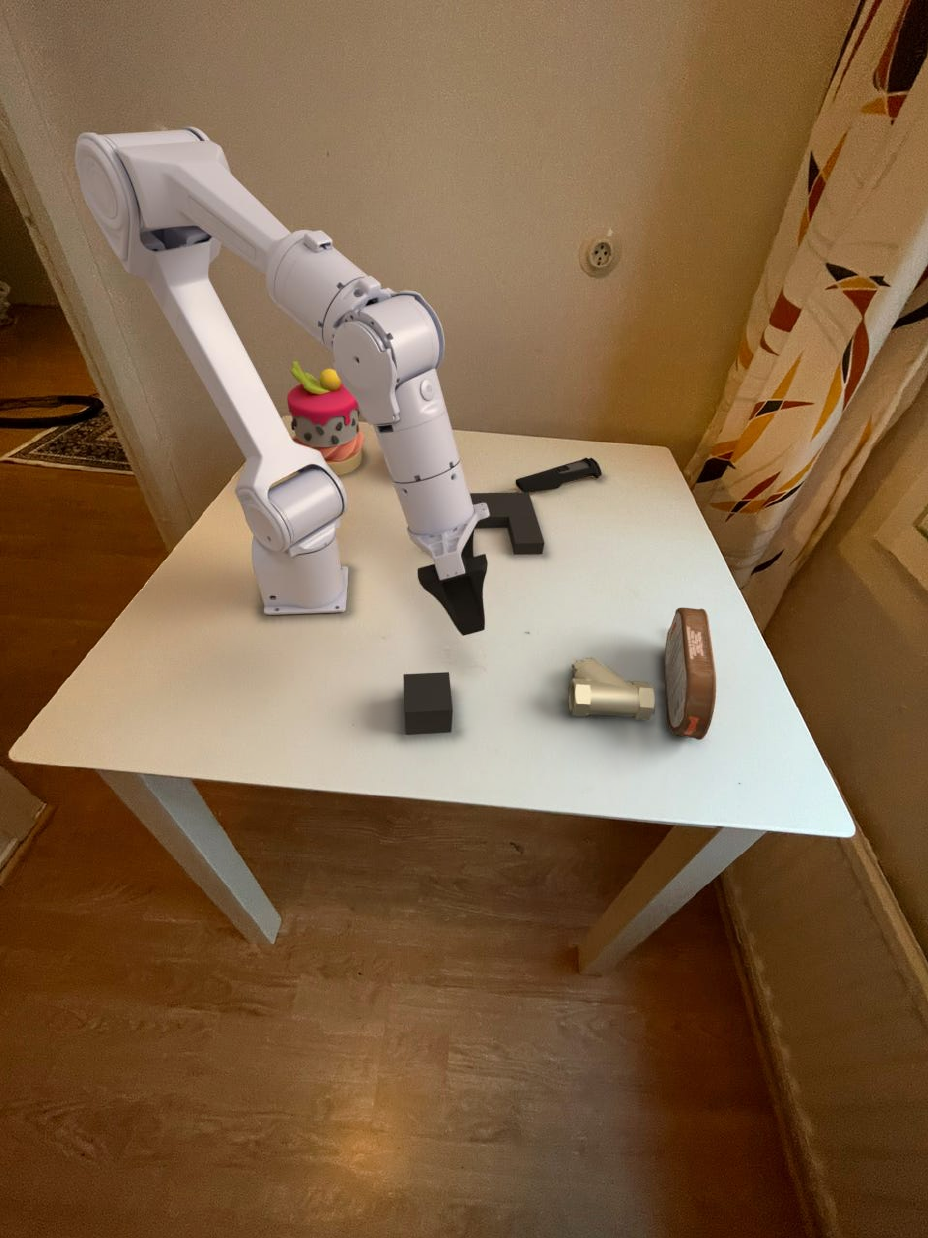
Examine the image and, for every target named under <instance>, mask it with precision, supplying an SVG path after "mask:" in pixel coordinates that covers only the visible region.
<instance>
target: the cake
mask: <svg viewBox="0 0 928 1238" xmlns="http://www.w3.org/2000/svg"><path fill="white" fill-rule="evenodd" d="M291 363H292V367H291V369H290V370H289V372H290V374H291V375H292V376H293V378H295V379H296V381H297V382H298V383H299V384H298V385H296V386H294V387H293V388H291V389H290V391H289V392H288V393H287V395H286V400H287V408H288V412H289V413H290V414H291V419H292V420H291V422H290V427H291V431H294V435H295V436H294V437H293V438H292V440H293V442H295V443H298V444H301V445H304V446H307V447H310V448H313V449H316V450H318V451H320V452H321V454H322V456H323V458H324V460H325V462H326V463H327V465H328V466H329V467H330V469H331V470H332V471H333V472H334V473H335V474H336V475H337V476H338V477H339V476H342V475H346V474H349V473H352V472H353V471H355V470H356V469H358V468H359V466H361V464H362V460H363V456H362V447H363V444H364V440H365V437H364V434H363V431H362V430H361V428H360V424H359V417H360V414H361V411H360V408H359V405H358V403H357V401H356V399H355V398H354V397H353V395H352V394H351V393H350V392H349V391H348V390H347V389H346V388H345V386H344V385H343V384H342V382H341V381H340V379H339V377H338V375H337V373H336V371H335V369H334V368H326V369H324V370H322V371H321V373H319V378H318V379H316V378H315V377H314V376H313V375H312V374H310V373H308V372H304V371H303V369H302V368H301V366H300V364H299V362H298V361H297V360H293V361H292V362H291Z"/></svg>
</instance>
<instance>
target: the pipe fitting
mask: <svg viewBox="0 0 928 1238" xmlns="http://www.w3.org/2000/svg"><path fill="white" fill-rule="evenodd" d="M571 668H572V674H573V675H574V676H573V678H572V679H571V680H570V683H569V686H568V695H567V700H568V701H567V702H568V703H567V704H568V711H569V713H570V714H571V715H572V717H585V718H586V717H587V716H588V715H599V716H600V715H603V716H622V717H632V718H633V719H635V720H641V721H642V720H644V721H649V720H650V719H651V718H652V716H653V714H654V712H655V705H656V704H655V703H656V699H655V691H654V687H653V686H652V684H650V683H648V682H647V681H646V682H645V681H633V682H632V683H631V682H629V681H627V680H626V679H625V678H623V677H621V676H620V675H618V674H617V673H615V672H614V671H613V670H611V669H610V668H608V667H607V666H605V665H603V664H602V663H601V662H599V661H598V660H596V659H595V658H593V657H588V658H586V659H580V660H575V661H573V663H572V664H571Z"/></svg>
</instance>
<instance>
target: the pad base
mask: <svg viewBox="0 0 928 1238" xmlns="http://www.w3.org/2000/svg"><path fill="white" fill-rule="evenodd" d="M469 493H470V497H471V500H472V504H473V505H475V504H479V503H486V504H487V506H488V510H489V513H490V515H489V517H487V518H485V519H482V520H479V521H478V522H477V524H476V525H475V529H507V532H508V533H507V534H508V536H509V541H510V545H511V550H512V554H513V555H514V556H519V555H522V556H523V555H527V556H528V555H543V553H544V547H545V542H546V541H545V540H544V537H543V533H542V529H541V527H540V523H539V521H538V517H537V514H536V511H535V507H534V504H533V502H532V498H531V495H530V494H531V493H529V492H522V491H519V492H517V491H516V492H469ZM475 529H474V530H475Z"/></svg>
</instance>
